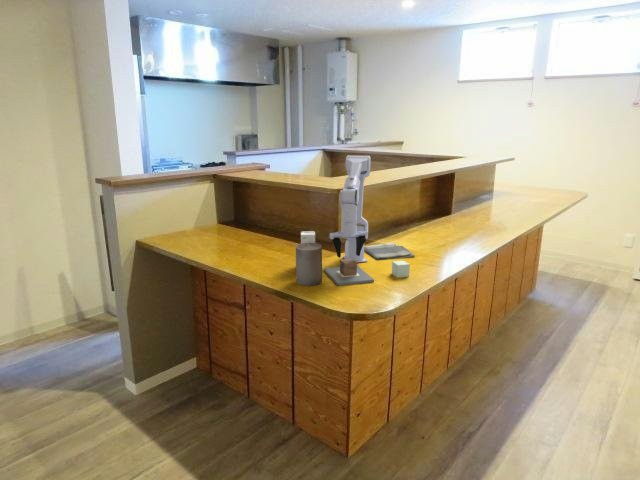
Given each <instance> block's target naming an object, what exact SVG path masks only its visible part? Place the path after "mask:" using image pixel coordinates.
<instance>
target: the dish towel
mask: <svg viewBox="0 0 640 480" xmlns="http://www.w3.org/2000/svg"><path fill="white" fill-rule="evenodd" d="M365 252H366V253H367V254H368V255H370V256H371V257H372V258H373V259H375V260H376V261H383V260H385V261H386V260H398V259H399V260H400V259H411V258H415V256H416V255H415V254H414V253H413V252H412V251H410V250H409V249H408V248H406V247H405V246H404V245H399V244H396V243H394V242H393V241H392V242H388V243H380V244H372V245H366V246H365V245H364V253H365Z"/></svg>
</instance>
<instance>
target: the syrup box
mask: <svg viewBox="0 0 640 480" xmlns="http://www.w3.org/2000/svg"><path fill="white" fill-rule="evenodd" d="M302 243H316V232H315V231H313V230H311V231H309V230H308V231H307V230H306V231H300V244H302Z"/></svg>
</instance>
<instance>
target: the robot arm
mask: <svg viewBox="0 0 640 480" xmlns="http://www.w3.org/2000/svg"><path fill="white" fill-rule="evenodd" d="M371 159H372V158H371V156H370V155H349V154H348V155H347V156H346V157H345V169H346V173H347V177H346V178H345V180H344V186H343V189H342V190H340V193H339V203H340V209H341V216H340V217H341V218H340V219H341V220H340V221H341V222H340V223H341V227H340V228H341V229H340V231H336V232H329V239H330V240H331V242H332V243H333V245H334V248H335V251H336V256H337V257H338V258H341V255H342V254H341V253H342V252H341V250H342V241H341V239H345V240H346V241H345V242H344V243H345V244H344V255H342V258H343V259H353V260H355V261H356V262H357V263H366V262H368V259H366V258H365V251H364V247H365V243H366V241H367V240H368V237H369V222H368V220H367V219H366V218H364V217H363V206H364V187H365V186H364V185H365V180H366V178H368V177H370V174H371V165H372V164H371V163H372V160H371Z"/></svg>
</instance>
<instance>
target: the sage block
mask: <svg viewBox="0 0 640 480" xmlns="http://www.w3.org/2000/svg"><path fill="white" fill-rule="evenodd" d="M410 266H411V264H410V263H408V262H407V261H405V260H397V261H396V260H394V261H393V260H392V262H391V274H392V275H393V276H394V277H396V278H397V279H398V278H406V277H407V278H408V277H410V271H411V270H410V269H411V267H410Z"/></svg>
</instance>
